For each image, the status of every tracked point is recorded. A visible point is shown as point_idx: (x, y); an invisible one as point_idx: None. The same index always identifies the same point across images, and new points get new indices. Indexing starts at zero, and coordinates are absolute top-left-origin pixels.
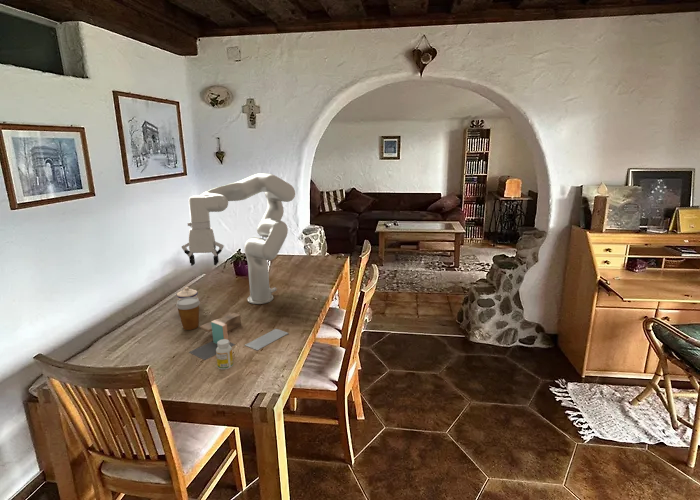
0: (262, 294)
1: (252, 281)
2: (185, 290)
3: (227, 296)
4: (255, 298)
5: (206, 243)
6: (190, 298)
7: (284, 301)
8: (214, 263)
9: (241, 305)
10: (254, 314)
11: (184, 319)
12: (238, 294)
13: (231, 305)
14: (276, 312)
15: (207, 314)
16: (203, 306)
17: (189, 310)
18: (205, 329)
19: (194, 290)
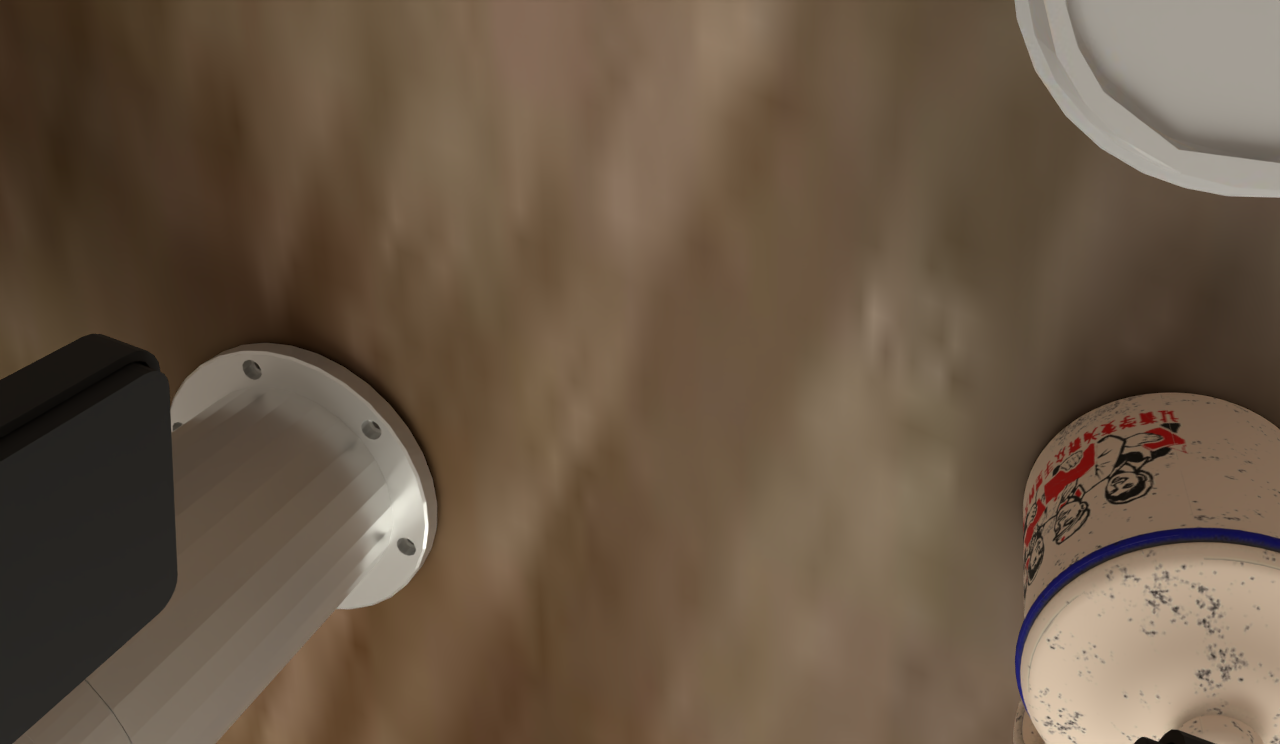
0: (202, 423)
1: (181, 572)
2: (1244, 716)
3: (664, 714)
4: (311, 425)
5: None
6: (1220, 134)
7: (66, 321)
8: (80, 380)
9: (498, 403)
10: (328, 66)
11: None
12: (547, 709)
13: (612, 451)
14: (94, 36)
15: (919, 292)
16: (957, 568)
17: None
18: None
19: (1065, 712)
